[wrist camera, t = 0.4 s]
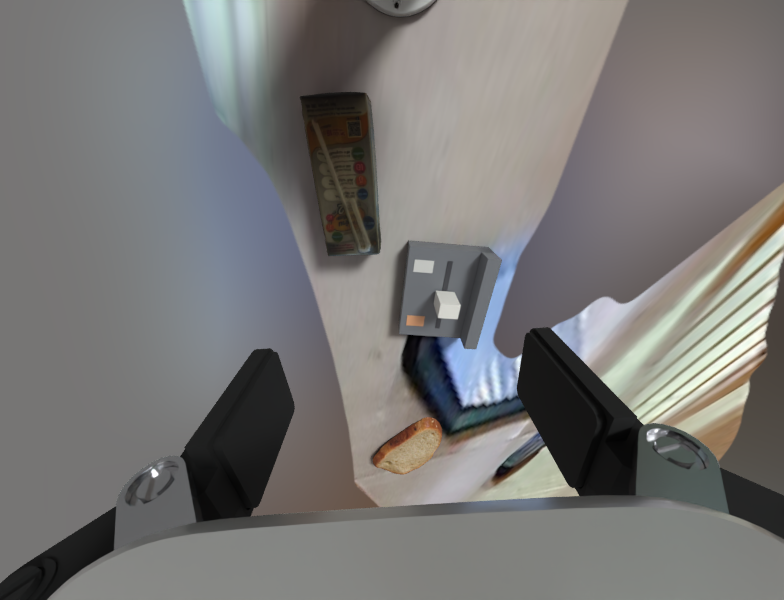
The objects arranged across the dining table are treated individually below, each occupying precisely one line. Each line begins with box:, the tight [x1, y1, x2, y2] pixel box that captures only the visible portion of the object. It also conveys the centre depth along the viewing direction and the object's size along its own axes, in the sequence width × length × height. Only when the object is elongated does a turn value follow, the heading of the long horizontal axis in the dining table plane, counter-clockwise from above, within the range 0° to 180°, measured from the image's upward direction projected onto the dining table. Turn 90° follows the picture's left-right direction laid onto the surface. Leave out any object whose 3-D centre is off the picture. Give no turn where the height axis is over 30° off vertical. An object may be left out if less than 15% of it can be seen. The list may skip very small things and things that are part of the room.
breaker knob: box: [434, 291, 461, 319], centre depth 43 cm, size 2×3×4 cm
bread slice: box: [373, 417, 442, 474], centre depth 67 cm, size 18×18×4 cm
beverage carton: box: [300, 92, 381, 256], centre depth 37 cm, size 8×19×7 cm, turn 3°
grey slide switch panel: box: [399, 241, 502, 349], centre depth 45 cm, size 16×13×6 cm
